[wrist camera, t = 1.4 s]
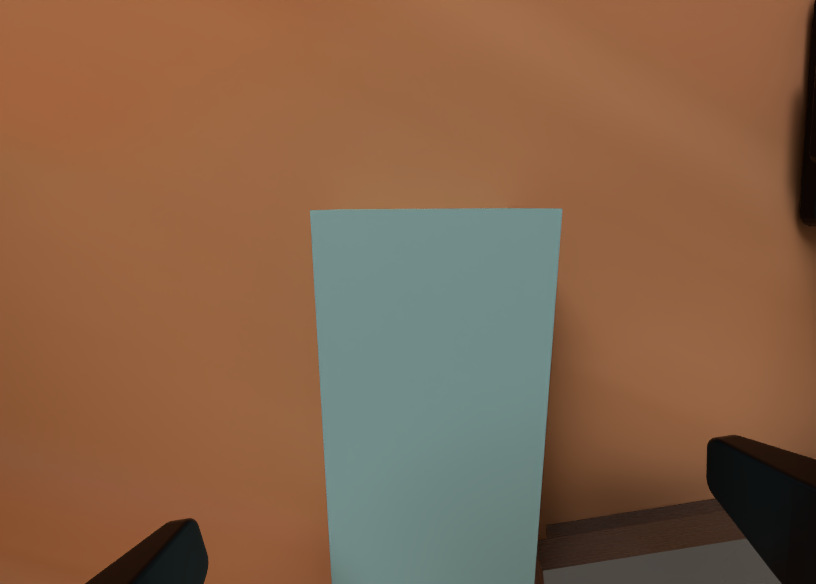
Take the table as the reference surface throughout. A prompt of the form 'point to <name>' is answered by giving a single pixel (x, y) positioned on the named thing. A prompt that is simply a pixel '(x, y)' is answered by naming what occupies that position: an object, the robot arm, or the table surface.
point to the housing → (434, 389)
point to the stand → (651, 549)
